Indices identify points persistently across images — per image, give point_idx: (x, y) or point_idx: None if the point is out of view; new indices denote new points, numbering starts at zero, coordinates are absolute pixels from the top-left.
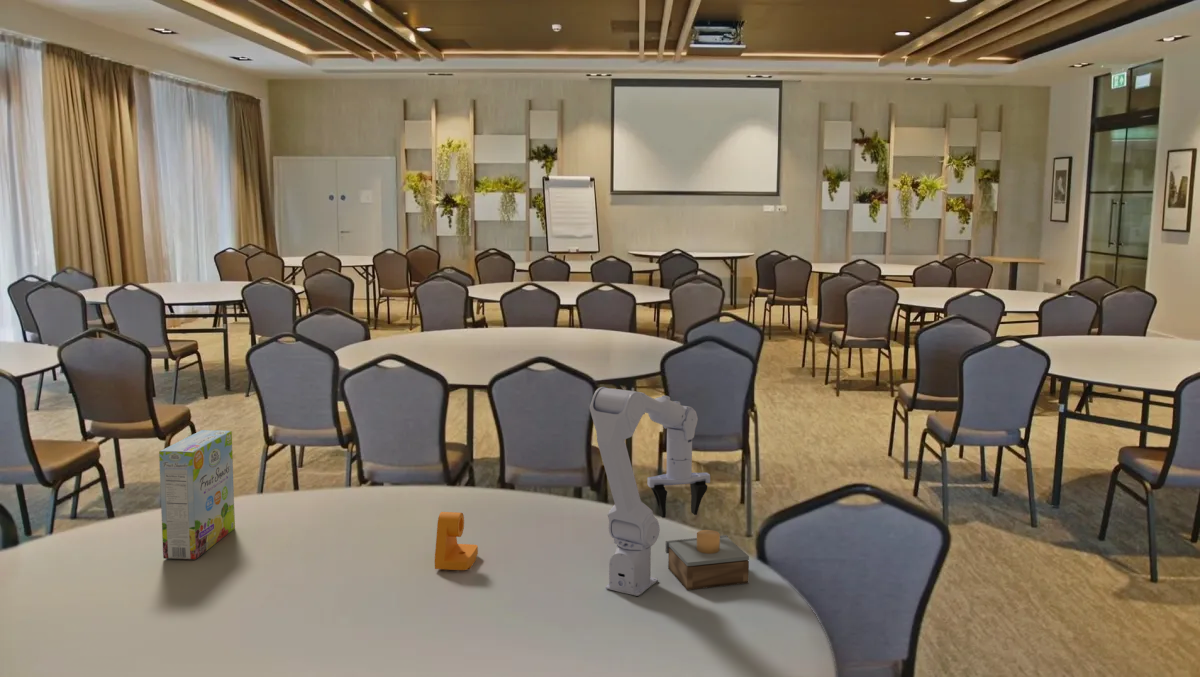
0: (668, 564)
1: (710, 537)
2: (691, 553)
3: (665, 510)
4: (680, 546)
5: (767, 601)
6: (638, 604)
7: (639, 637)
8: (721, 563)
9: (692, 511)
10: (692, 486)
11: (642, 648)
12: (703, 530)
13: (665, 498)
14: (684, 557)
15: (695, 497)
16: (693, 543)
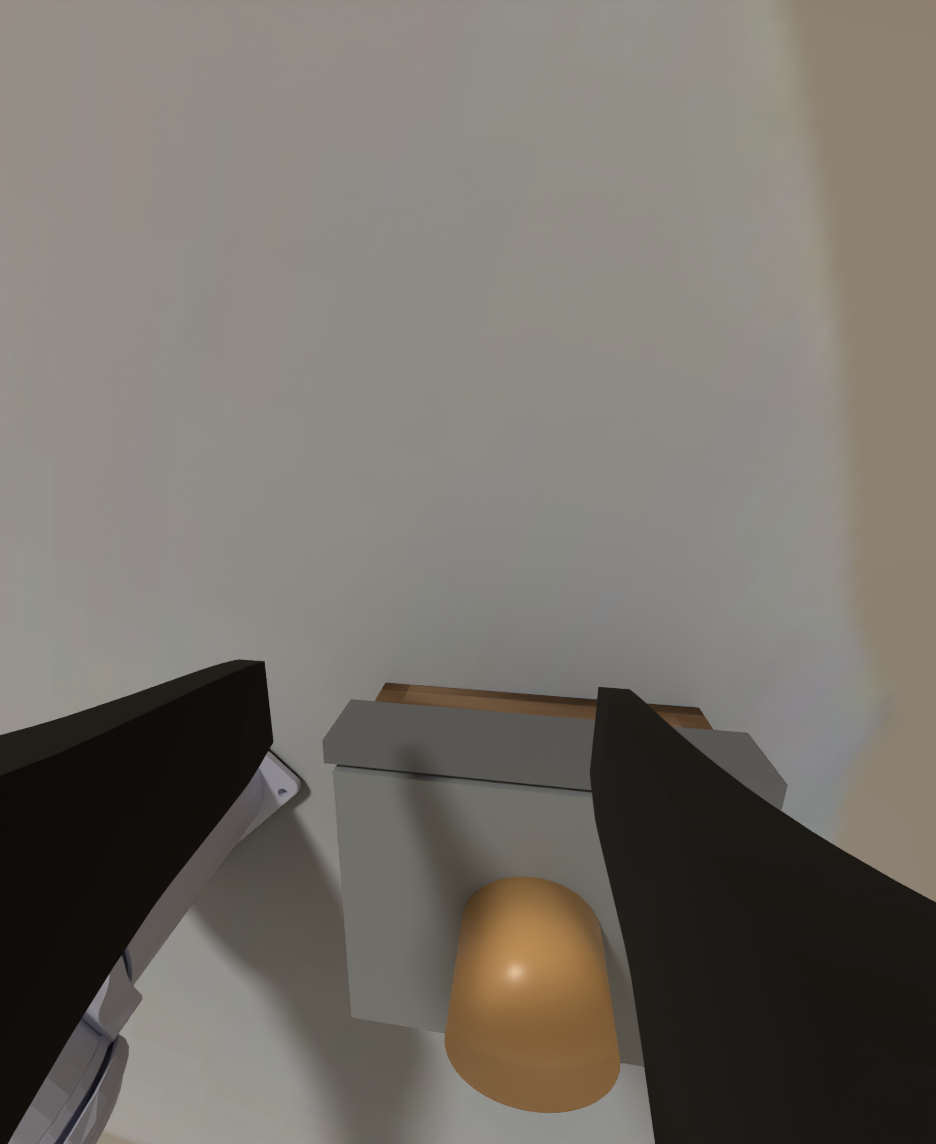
0: (378, 695)
1: (515, 1099)
2: (412, 942)
3: (219, 816)
4: (386, 843)
5: None
6: (197, 909)
7: (169, 1056)
8: None
9: (598, 731)
10: (758, 1118)
11: (169, 1096)
12: (527, 994)
13: (62, 1028)
14: (356, 968)
15: (648, 1002)
16: (482, 832)
